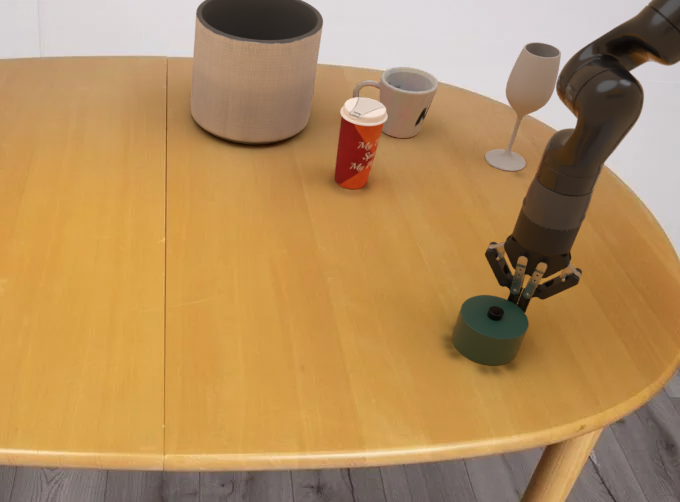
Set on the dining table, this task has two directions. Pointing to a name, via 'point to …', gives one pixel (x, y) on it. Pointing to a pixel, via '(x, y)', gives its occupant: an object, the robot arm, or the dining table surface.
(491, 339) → the tea tin
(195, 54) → the planter
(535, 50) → the wineglass
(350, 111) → the paper cup
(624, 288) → the dining table surface
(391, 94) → the mug
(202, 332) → the dining table surface
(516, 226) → the robot arm
